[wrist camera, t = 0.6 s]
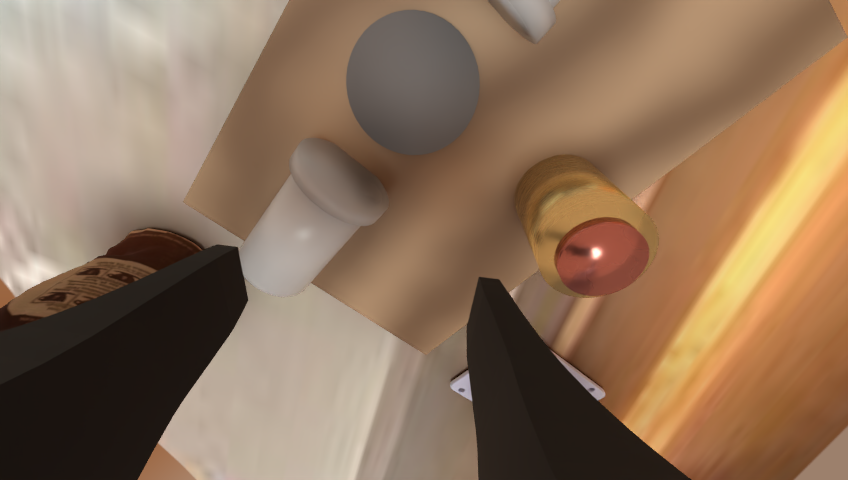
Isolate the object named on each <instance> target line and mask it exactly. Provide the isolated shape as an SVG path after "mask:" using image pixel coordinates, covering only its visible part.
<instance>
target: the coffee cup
mask: <svg viewBox="0 0 848 480" xmlns="http://www.w3.org/2000/svg"><path fill="white" fill-rule="evenodd" d="M200 251H202V249H201V248H200V247H199V246H197V245H196V244H194V243H193V242H191V241H189V240H187V239H185V238H183V237H181V236H179V235H176V234H174V233H171V232H168V231H162V230H156V229H151V228H147V229H144V230H137V231H135V230H134V231H132V232H130V233H129V234H128V235H127V237H126V238H125V239H124V240H122V241H121V242H120V243H119V244H118V245H116V246H114V247H112V248H110V249H109V250H108V252H107V254H106V255H103V256H99V257H97V258H96V259H94V260H92V261H91V262H88V263H87V264H85V265H83V266H80V267H77V268H74V269H72V270H70V271H67V272H65V273H62V274H60V275H58V276H56V277H54V278H51V279H49V280H46V281H43V282H42V283H40V284H38V285H36V286H34V287H32V288H30V289H29V290H27V291H25V292H24V293H22V294H21V295H20V296H18V297H16V298H14V299H13V300H11V301H10V302H9V303H8V304H7V305H5V306H3V307H2V308H0V332H2V331H5V330H8V329H12V328H15V327H18V326H21V325H24V324H27V323H30V322H33V321H36V320H39V319H41V318H44V317H47V316H50V315H53V314H55V313H58V312H61V311H64V310H66V309H69V308H72V307H74V306H77V305H80V304H82V303H85V302H87V301H90V300H92V299H94V298H97V297H99V296H102V295H104V294H106V293H109V292H111V291H113V290H116V289H118V288H120V287H123V286H125V285H127V284H130V283H132V282H134V281H137V280H139V279H141V278H143V277H146V276H148V275H150V274H152V273H154V272H156V271H159V270H161V269H163V268H165V267H167V266H169V265H172V264H174V263H176V262H178V261H180V260H182V259H185V258H187V257H189V256H191V255H193V254H196V253H198V252H200Z"/></svg>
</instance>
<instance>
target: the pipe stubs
mask: <svg viewBox="0 0 848 480" xmlns="http://www.w3.org/2000/svg"><path fill="white" fill-rule="evenodd" d="M487 1H488V2H489V3H490V4H491V5H492V6H493V8H494V9H495V10H496V11H497V12H498V13H499V14H500V15H501V16H502V18H503V19H504V20H505V21H506V22H507V23H508V24H509V25H510V26H511V27H512V28H513V29H514V30H515V31H517V32H518V33H519V34H520V35H521V36H523V37H524V38H525V39H527V40H528V41H530V42H531V43H533V44H537V43H538V42H539V41H540V40H541V39H542V37H543V36H544V35H545V34H546V33H547V32H548V31H549V30H550V29H551V28H552V26H553V25H554V24H555V23H556V16H555V12H554V10H553V8H554V7H555V6H556V5H557V4H558V2H559V1H560V0H487ZM289 169H290V172H291V174H290V176H289V177H288V179H287V180H286V182H285V183H284V185H283V186H282V187H281V189H280V190H279V192H278V193H277V195H276V196H275V198H274V199H273V201H272V202H271V204H270V205H269V206H268V208H267V209H266V211H265V212H264V214H263V215H262V217H261V218H260V220H259V221H258V223H257V224H256V225H255V227H254V228H253V230H252V231H251V233H250V234H249V236H248V237H247V239H246V240H245V241H244V243H243V244H242V246H241V247H240V249H239V256H240V261H241V266H242V271H243V276H244V277H245V278H246V279H247V280H248V281H249V282H250V283H251V284H252V285H253V286H254V287H256V288H257V289H259V290H261V291H263V292H265V293H267V294H270V295H273V296H278V297H291V296H295V295H298V294H300V293H301V292H303V291H304V290H305V289H306V287H307V286H308V285H309V284H310V283H311V282H312V281H313V280H314V278H315V277H316V276H317V275H318V274H319V273H320V272H321V270H322V269H323V268H324V267H325V266H326V265H327V264H328V263H329V261H330V260H331V259H332V258H333V257H334V256H335V255H336V254H337V252H338V251H339V250H340V249H341V248H342V247H343V246H344V244H345V243H346V242H347V241H348V240H349V239H350V238H351V237H352V235H353V234H354V233H355V232H356V231H357V230H358V229H359V228H360V226H369V225H372V224H373V223H375V222H376V221H377V220H378V219H379V218H380V217H381V215H382V214H383V213H384V212H385V211H386V210H387V208H388V206H389V199H388V195H387V192H386V190H385V188H384V186H383V185H382V183H381V182H380V180H379V179H378V178H377V177H376V176H375V175H374V174H372V173H371V172H370V171H369V170H367V169H366V168H365V167H364V166H362V165H361V164H360V163H359V162H357V161H356V160H355V159H353V158H352V157H351V156H350V155H348V154H347V153H346V152H345V151H343V150H342V149H341V148H340V147H338V146H337V145H336V144H334V143H332V142H329V141H327V140H323V139H319V138H306V139H304V140H302V141H301V142H300V143H299V145H298V146H297V148H296V149H295V151H294V152H293V154H292V155H291V157H290V159H289Z"/></svg>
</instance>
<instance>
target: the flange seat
mask: <svg viewBox="0 0 848 480" xmlns="http://www.w3.org/2000/svg"><path fill="white" fill-rule="evenodd" d="M346 87H347V95H348V99H349V104H350V106H351V109H352V112H353V114H354V116H355V118H356V120H357V121H358V123H359V124H360V126H361V128H362V129H363V130H364V131H365V132H366V133H367V135H369V136H370V137H371V138H372V139H373V140H374V141H375V142H377V143H378V144H380V145H381V146H383V147H385V148H387V149H389V150H391V151H394V152H397V153H401V154H407V155H422V154H428V153H432V152H435V151H438V150H440V149H442V148H444V147H446V146H447V145H449V144H450V143H452V142H453V141H454V140H455V139H456V138H458V137H459V136H460V135H461V133H462V132H463V131H464V130H465V129H466V127H467V126H468V124H469V122H470V121H471V119H472V117H473V114H474V112H475V109H476V106H477V103H478V97H479V88H480V80H479V71H478V65H477V62H476V59H475V56H474V54H473V51H472V49H471V47H470V45H469V44H468V42H467V41H466V39H465V38H464V36H463V35H462V34H461V33H460V32H459V30H457V29H456V28H455V27H454V26H453V25H452V24H451V23H449V22H448V21H446V20H445V19H443V18H441V17H439V16H437V15H435V14H432V13H429V12H426V11H420V10H403V11H397V12H394V13H391V14H388V15H386V16H384V17H382V18H380V19H378V20H377V21H375V22H374V23H373V24H371V25H370V26H369V27H368V28H367V29H366V30H365V31H364V32H363V34H362V35H361V36H360V38H359V39H358V41H357V42H356V44H355V46H354V48H353V50H352V53H351V55H350V58H349V62H348V66H347V74H346Z"/></svg>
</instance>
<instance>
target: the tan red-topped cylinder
mask: <svg viewBox="0 0 848 480" xmlns="http://www.w3.org/2000/svg"><path fill="white" fill-rule="evenodd" d="M515 208H516V211H517V214H518V216H519V219H520V221H521V224H522V226H523V229H524V232H525V234H526V237H527V239H528V242H529V244H530V247H531V249H532V252H533V254H534V257H535V259H536V262H537V264H538V267H539V269H540V272H541V274H542V276H543V278H544V279H545V281H546V282H547V283H548V284H549V285H550V286H551V287H552V288H554V289H555V290H557V291H559V292H561V293H563V294H566V295H569V296H573V297H580V298H590V297H599V296H604V295H607V294H611V293H614V292H617V291H619V290H621V289H623V288H625V287H627V286H628V285H630V284H631V283H633V282H634V281H635V280H637V279H638V278H639V277H640V276H641V275H642V274H643V273H644V272H645V271H646V270H647V269H648V267H649V266H650V265H651V263H652V261H653V259H654V257H655V255H656V252H657V249H658V242H659V237H658V231H657V227H656V225H655V223H654V221H653V220H652V219H651V218H650V216H649V215H648V214H646V213H645V212H644V211H643V210H642V209H641V208H640V207H639V206H638V205H637V204H635V203H634V202H633V201H632V200H631V199H630V198H629V197H628V196H627V195H626V194H624V193H623V192H622V191H621V190H620V189H619V188H618V187H617V186H616V185H615V184H613V183H612V182H611V181H610V180H609V179H608V178H607V177H606V176H605V175H604V174H603V173H601V172H600V171H599V170H598V169H597V168H596V167H595V166H594V165H593V164H591V163H590V162H589V161H588V160H586V159H584V158H582V157H579V156H576V155H569V154H562V155H555V156H551V157H548V158H546V159H543V160H541V161H539V162H538V163H536V164H535V165H533V166H532V167H531V168H530V169H529V170H528V171H527V172H526V173H525V174H524V175H523V177H522V178H521V180H520V181H519V183H518V186H517V188H516V192H515Z"/></svg>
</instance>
